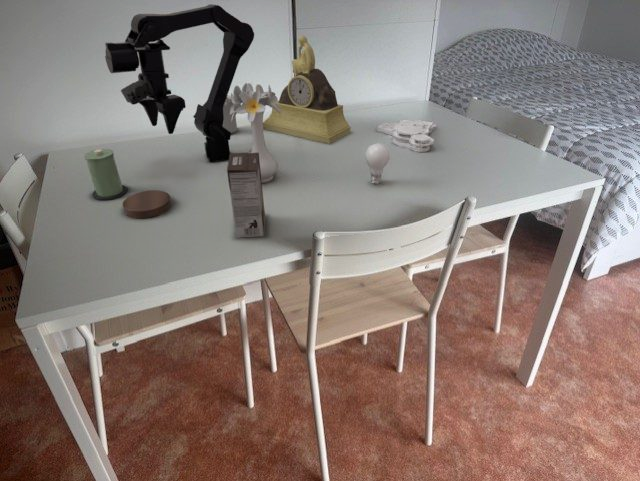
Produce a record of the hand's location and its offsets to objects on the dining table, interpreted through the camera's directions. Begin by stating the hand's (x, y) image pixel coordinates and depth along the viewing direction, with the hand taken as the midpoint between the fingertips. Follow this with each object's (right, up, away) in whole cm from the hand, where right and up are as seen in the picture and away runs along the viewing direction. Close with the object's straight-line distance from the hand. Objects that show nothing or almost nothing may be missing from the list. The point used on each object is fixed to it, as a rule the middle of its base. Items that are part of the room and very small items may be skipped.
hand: (162, 129), depth 123 cm
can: (+11, +7, +33) cm, 36 cm away
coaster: (-12, -18, -5) cm, 22 cm away
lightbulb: (+58, -15, -3) cm, 60 cm away
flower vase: (+26, -13, +1) cm, 29 cm away
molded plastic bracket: (+72, +5, +27) cm, 78 cm away
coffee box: (+27, -27, -21) cm, 44 cm away
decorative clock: (+38, +8, +33) cm, 51 cm away
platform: (+1, -22, -12) cm, 25 cm away
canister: (-12, -17, -6) cm, 22 cm away
